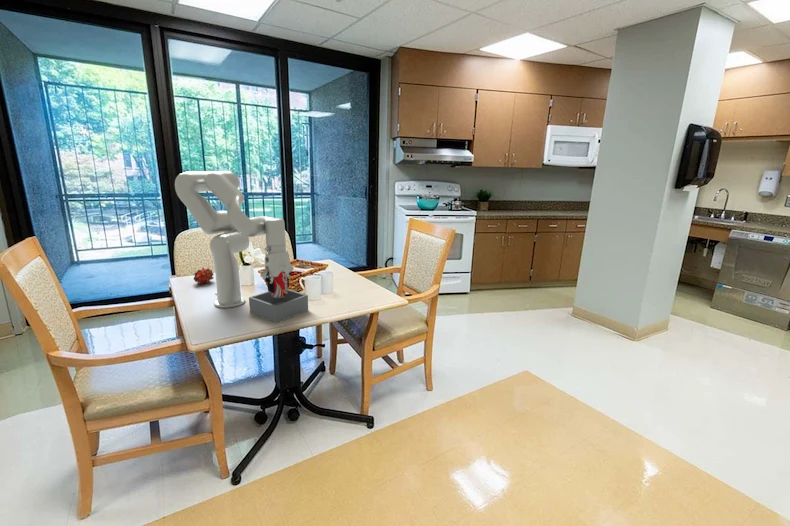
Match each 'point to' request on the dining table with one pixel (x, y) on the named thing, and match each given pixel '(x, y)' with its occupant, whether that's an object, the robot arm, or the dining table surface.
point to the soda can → (280, 285)
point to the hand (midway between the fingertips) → (278, 289)
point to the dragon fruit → (203, 276)
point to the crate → (278, 305)
